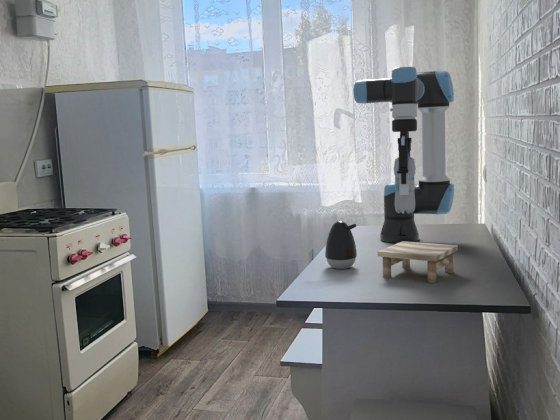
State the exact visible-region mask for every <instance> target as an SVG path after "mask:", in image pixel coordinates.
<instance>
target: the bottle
mask: <svg viewBox="0 0 560 420" xmlns="http://www.w3.org/2000/svg"><path fill="white" fill-rule="evenodd" d="M409 155H410V156H409ZM398 169H399V156H398V157H397V158H395V159H394V164H393V175H394V183H395V210H396V212H397V213H400V212H401V213H402V214H404V211H405V210H406V212H407V213H413V212H414V210H415V192H414V191H415V188H414V184H415V175H416V162H415V158H413V157H412V156H411V151H410V152H408V173H409V195H399V173H398V174H397V171H399V170H398Z"/></svg>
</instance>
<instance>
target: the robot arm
mask: <svg viewBox="0 0 560 420" xmlns="http://www.w3.org/2000/svg"><path fill="white" fill-rule="evenodd" d="M454 94H455V93H454V86H453V80H452V77H451V74H450V73H449V72H448V71H446V70H434V71H422V72H417V68H416V67H414V66H398V67H394V68H393V69H392V70H391V76H390V77H388V78H379V79H378V78H377V79H375V78H374V79H373V78H372V79H362V80H361V79H360V80H356V81H355V83H354V84H353V99H354V101H355V102H356V103H357V104H364V105H365V104H375V103H391V108H390V109H389V112H391V118H392V121H391V132H393V133H399V137H397V145H398V147H397V150H398V157H399V169H398V170H399V171H397V174H398V173H399V195H409V173H408V152H410V153H411V151H412V142H413V141H412V137H410V133H411V132H417V130H418V120H417V119H416V118H417V117H418V110H419V112H421V137H422V138H421V141H422V142H421V146H422V147H421V148H422V149H421V150H422V152H421V153H422V175H421V177H419V179H418V183H416V184H415V183H414V188H415V191H414V192H415V210H414V212H413V213H407V212H406V210H405V211H404V214H402V213H401V212H400V213H397V212H396V210H395V182H391V183H387V184H386V185H384V187H383V190H384V191H383V209H384V210H383V211H384V212H383V214H384V215H383V216H384V219H383V224H382V228H381V231H380V234H379V235H380V236H379V239H380V241H381V242H385V243H395V244H397V243H400V242H402V241H405V242H418V241H419V240H420V233H419V230H418V228H417V225H416V222H415V215H416V214H417V215H437V216H438V215H446V214H449V213H450V212H451V210H452V207H453V203H454V197H455V185H454V184H453V183H451V180H450V177H448V176H447V174H446V173H447V171H446V166H447V165H446V163H447V162H446V112H447V110H448V109H449V108H450V103H453V102H454V100H455V99H454ZM409 156H410V157H411V154H410V155H409Z"/></svg>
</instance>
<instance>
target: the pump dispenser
mask: <svg viewBox="0 0 560 420" xmlns="http://www.w3.org/2000/svg"><path fill="white" fill-rule="evenodd" d="M355 228H357V223H353V224H350V225H349V224H348V223H346V222H345V221H343V220H338V221H335V222H334V223H333V224H332V226H331V228H330V229H329V232H328V235H327V238H326V243H325V252H324V257H325V258H326V261H327V264H328V265H329V267H331V268H333V269H335V270H347V269H349V268H351V267H352V266H353V265H354V264H355V262H356V260H357V259H356V258H357V257H358V252H357V245H356V241H355V238H354V235H353V232H352V230H353V229H355Z"/></svg>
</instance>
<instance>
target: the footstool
mask: <svg viewBox="0 0 560 420" xmlns="http://www.w3.org/2000/svg"><path fill="white" fill-rule="evenodd" d="M458 247H459V246H458V245H457V244H454V245H453V244H441V243H429V242H418V241H414V242H405V241H402V242H400V243H395V244H392V245H389V246H388V247H385V248H383V249H380V250H377V257H381V258H382V278H384V279H390V278H392V266H394V265H397V264H398V263H401V264H402V265H401V268H403V269H410V268H411V260H414V261H422V262H423V261H425V262H426V263H427V265H426V266H427V283H429V284H436V283H437V271H438V270H440V269H441V268H444V272H445V273H446V272H447V273H448V274H451V273H452V274H453V273H454V253H456V252H458V251H459V249H458Z"/></svg>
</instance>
